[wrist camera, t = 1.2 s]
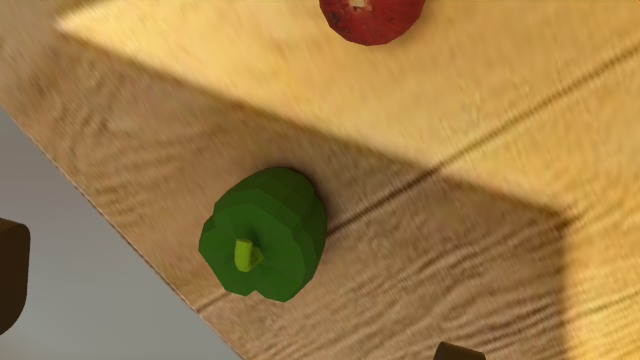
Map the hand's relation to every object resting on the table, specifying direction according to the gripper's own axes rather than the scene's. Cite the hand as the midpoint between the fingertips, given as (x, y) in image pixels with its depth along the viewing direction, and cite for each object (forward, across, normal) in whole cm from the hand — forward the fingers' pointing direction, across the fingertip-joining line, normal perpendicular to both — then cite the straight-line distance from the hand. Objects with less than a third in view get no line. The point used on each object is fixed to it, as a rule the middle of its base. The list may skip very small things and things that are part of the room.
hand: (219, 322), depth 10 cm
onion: (+26, 0, -9) cm, 28 cm away
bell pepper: (+30, +3, +8) cm, 32 cm away
